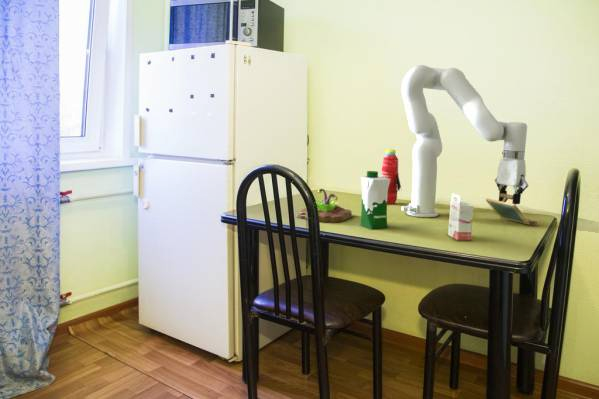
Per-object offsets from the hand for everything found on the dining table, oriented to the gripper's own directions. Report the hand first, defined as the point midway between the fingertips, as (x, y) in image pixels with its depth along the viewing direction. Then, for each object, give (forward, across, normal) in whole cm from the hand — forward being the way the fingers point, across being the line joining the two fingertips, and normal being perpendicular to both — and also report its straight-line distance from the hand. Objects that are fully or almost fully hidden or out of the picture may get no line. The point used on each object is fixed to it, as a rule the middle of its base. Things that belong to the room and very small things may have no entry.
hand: (509, 202), depth 192 cm
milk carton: (+9, -12, -52) cm, 54 cm away
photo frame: (+4, 0, -1) cm, 4 cm away
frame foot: (+8, 0, +6) cm, 10 cm away
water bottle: (+9, -51, -20) cm, 55 cm away
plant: (+9, -34, -61) cm, 71 cm away
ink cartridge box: (+8, +12, -34) cm, 37 cm away
